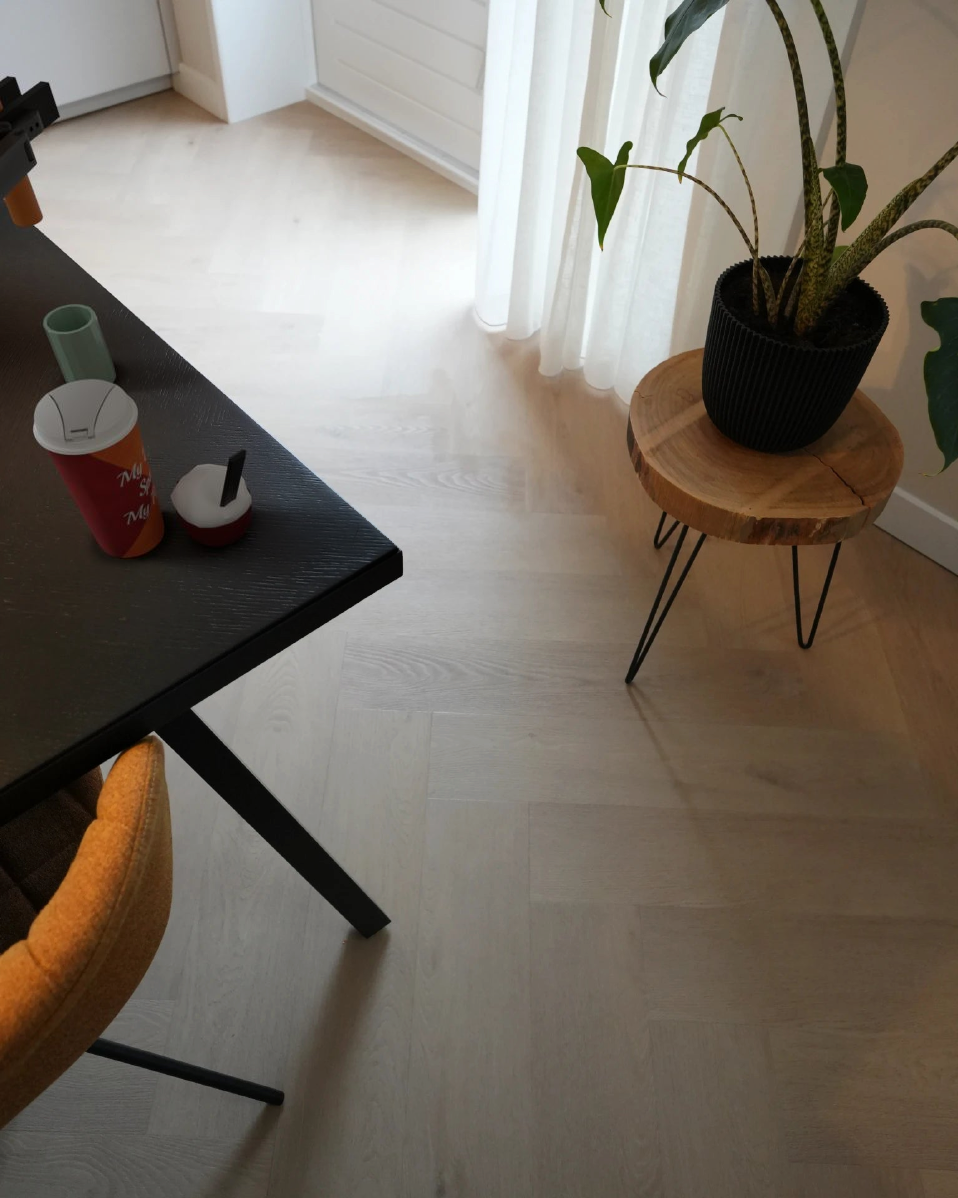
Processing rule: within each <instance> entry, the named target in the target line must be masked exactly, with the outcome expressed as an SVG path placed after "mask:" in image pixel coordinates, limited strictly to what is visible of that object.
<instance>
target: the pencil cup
mask: <svg viewBox="0 0 958 1198" xmlns="http://www.w3.org/2000/svg"><path fill="white" fill-rule="evenodd" d="M42 323H43V324H42V327H43V330H44V331H45V334H46V336H47V338H48V341H49V343H50V346H51V349H52V351H53V353H54V356H55V358H56V361H57V363H58V365H59V368H60V370H61V373H62V376H63V379H64V380H65V382H66V384H67V383H70V382H74V381H80V380H88V379H97V380H103V381H107V382H110V383H113V384H114V382H115V380H116V378H117V373H116V370H115V365H114V362H113V359H112V357H111V354H110V351H109V348H108V345H107V343H106V340H105V337H104V334H103V331H102V329H101V325H100V323H99V320H98V317H97V315H96V312H95V310H94V309H92V308H91V307H90V306H87V305H85V304H84V305H83V304H77V303H74V304H73V303H71V304H65V305H62V306H58V307H56V308H54V309H52V310H51V311H50V312H48V313H47V314H46V315H45V316H44V318H43V322H42Z"/></svg>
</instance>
